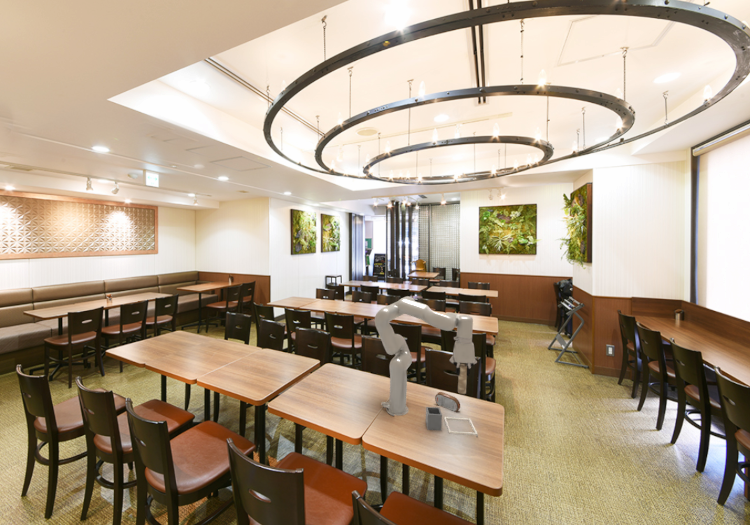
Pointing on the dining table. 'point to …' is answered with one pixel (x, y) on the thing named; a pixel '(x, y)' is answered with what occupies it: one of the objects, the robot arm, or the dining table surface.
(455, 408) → the tin
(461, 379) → the dowel
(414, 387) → the dining table surface
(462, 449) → the dining table surface
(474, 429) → the white square frame
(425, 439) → the dining table surface
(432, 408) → the holder
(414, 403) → the dining table surface
